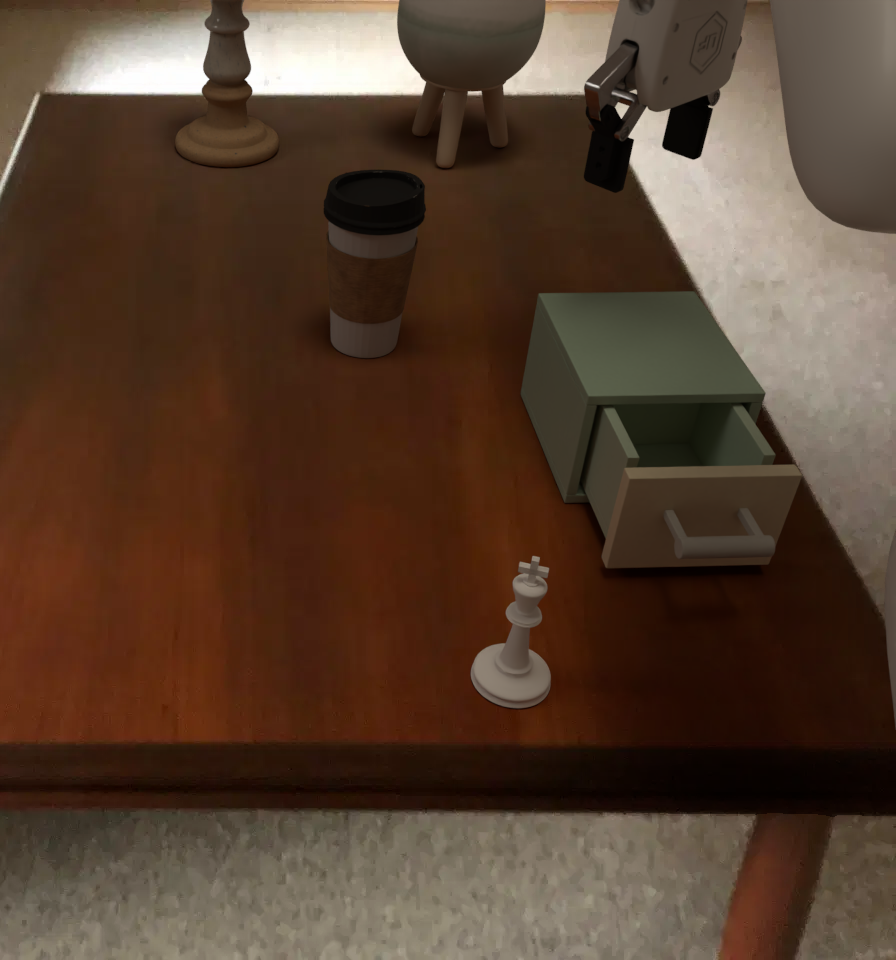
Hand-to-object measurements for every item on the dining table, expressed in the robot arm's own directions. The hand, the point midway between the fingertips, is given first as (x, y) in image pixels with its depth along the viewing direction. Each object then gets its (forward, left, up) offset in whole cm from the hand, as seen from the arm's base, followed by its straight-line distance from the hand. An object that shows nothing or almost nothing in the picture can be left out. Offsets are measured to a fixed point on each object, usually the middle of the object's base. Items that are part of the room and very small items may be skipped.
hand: (642, 169), depth 89 cm
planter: (+42, -28, -19) cm, 54 cm away
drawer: (-16, +12, -18) cm, 27 cm away
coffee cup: (+17, +11, -19) cm, 28 cm away
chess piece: (-18, +32, -19) cm, 41 cm away
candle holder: (+59, -7, -19) cm, 63 cm away
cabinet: (-7, +6, -19) cm, 21 cm away
